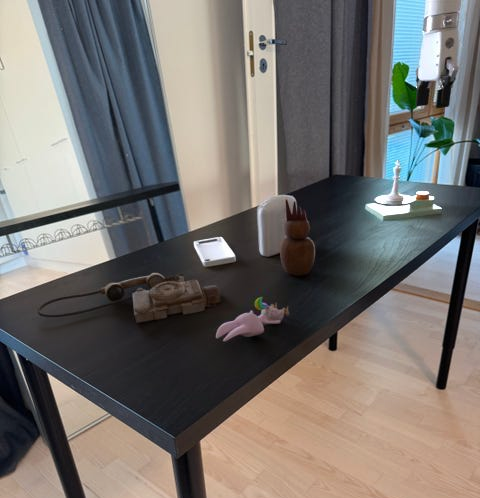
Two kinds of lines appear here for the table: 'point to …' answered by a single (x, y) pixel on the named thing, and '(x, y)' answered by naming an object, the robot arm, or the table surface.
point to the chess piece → (395, 185)
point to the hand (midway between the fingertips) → (431, 106)
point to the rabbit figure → (252, 321)
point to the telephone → (154, 297)
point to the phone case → (214, 252)
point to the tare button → (422, 195)
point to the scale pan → (383, 202)
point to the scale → (405, 209)
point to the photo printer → (272, 223)
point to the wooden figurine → (297, 243)
